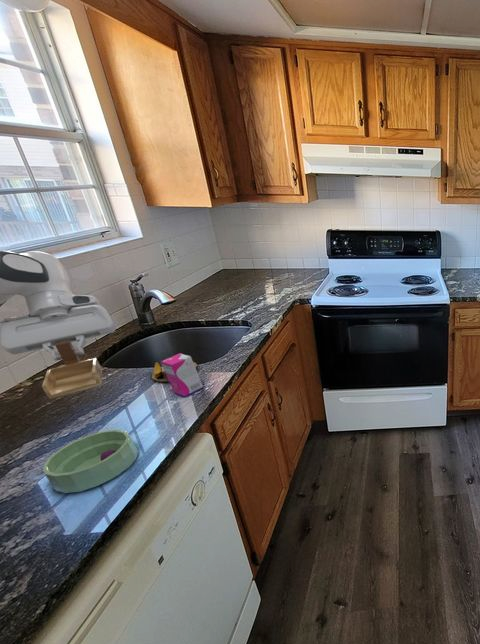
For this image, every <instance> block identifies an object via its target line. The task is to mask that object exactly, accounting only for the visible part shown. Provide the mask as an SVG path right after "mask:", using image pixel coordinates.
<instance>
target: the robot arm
mask: <svg viewBox="0 0 480 644" xmlns="http://www.w3.org/2000/svg"><path fill="white" fill-rule="evenodd" d="M16 295H17V296H21V297H23V298H24V299H25V303H26V307H27V310H28V313H27V314H23V315H18V316H14V317H7V318H4V319H3V320H2V321H0V345H1V348H2V349H3V350H4V351H5V352H7V353H9V354H11V355H20V354H24V353H28V352H32V351H37V350H42V349H44V350H45V351H47V352H48V353H49V354H50V355H51V356H52V358H53V360H54V361H55V362H56V361H57V362H58V361H62V360H63V359H62V357H61V355H60V353H59V351H58V350H55V347H56V343H57V342H62V341H66V340H70V342H71V343H72V342H77V345H76V346H73V350H74V353H75V355H76V356H78V357H79V356H82V355H85V350H84V348H85V346H86V344H87V343H88V341H87V339H91V338H94V337H95V338H96V337H100V336H103V335H109V334H113V333H115V332H116V330H117V327H116V324H115V322H114V320H113V319H112V317H111V316H110V314H109V312H108V311H107V309H106V308H105V307H104V306H103V305H102V303H101V302H100V300H99V299H98V298H97V297H95V296H94V295H82V294H74V293H73V292H72V283H71V279H70V277H69V274H68V272H67V270H66V268H65V267H64V265H63V264H62V262H61V260H59V259H58V258H57V257H55V256H54V255H52V254H50V253H47V252H44V251H37V250H36V251H34V250H33V251H25V252H22V253H17V252H14V251H10V250H4V249H0V308H1V307H2V306H3V305H4V304H5V303H6V302H8V300H10V299H11V298H13V297H14V296H16Z"/></svg>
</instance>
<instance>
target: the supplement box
mask: <svg viewBox="0 0 480 644" xmlns="http://www.w3.org/2000/svg"><path fill="white" fill-rule="evenodd" d="M193 362H194V361H193V358H192V356H191V355H187V354H183V353H177V354H175V355H172V356H171V357H168V358H166V359H163V360H161V361H160V364H161V367H163V368H164V371H165V373H166V375H167V377H168V380H169V384H170V386H171V389H172V391H173V393H174V394H175V395H177V396H180V397H183V398H187V397H190V396H191V395H194V394H195V393H197V392H199V391H201V390H203V389H204V385H203V383H202V380H201V377H200V376H199V373H198V371H197V367H196V368H195V366H194V363H195V362H194V363H193Z"/></svg>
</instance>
